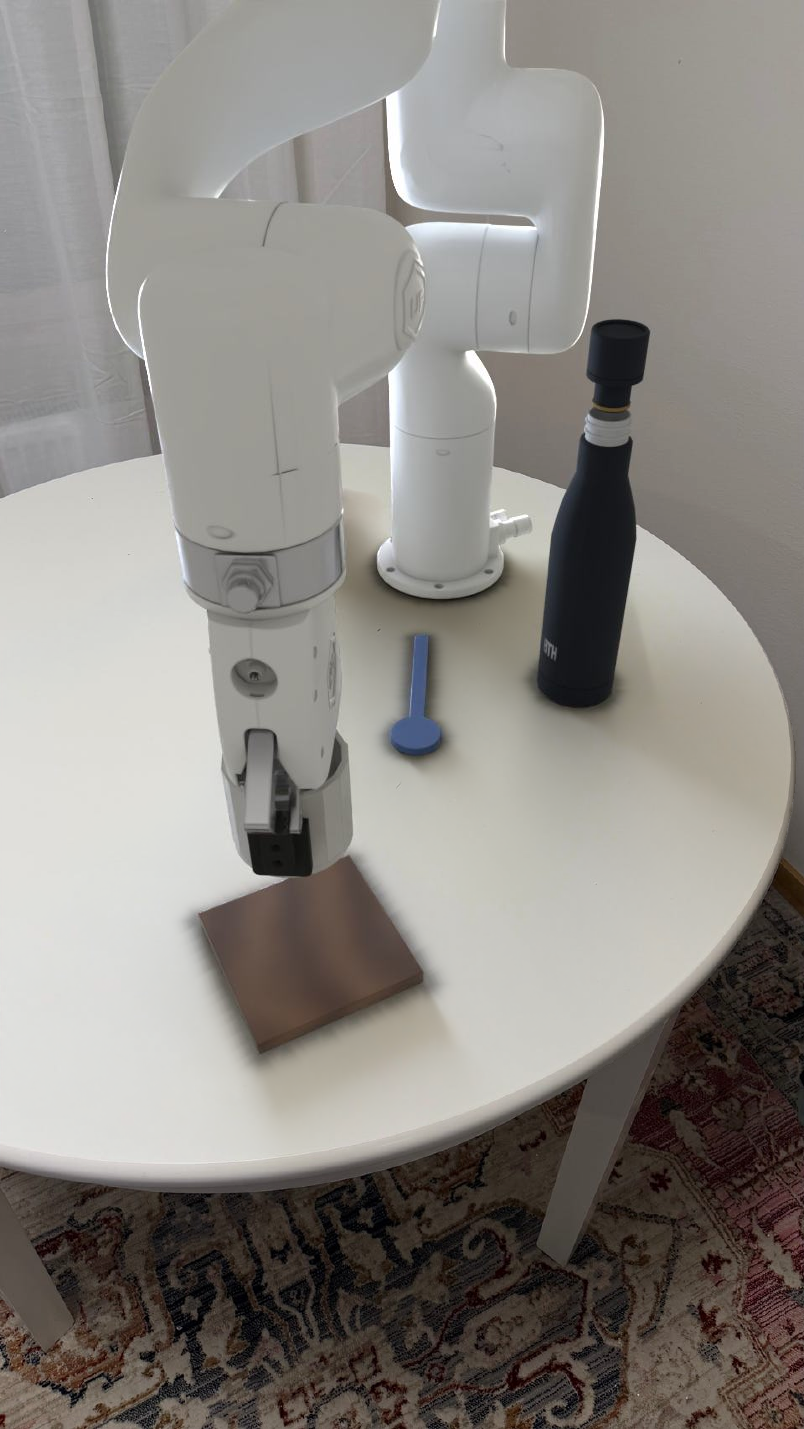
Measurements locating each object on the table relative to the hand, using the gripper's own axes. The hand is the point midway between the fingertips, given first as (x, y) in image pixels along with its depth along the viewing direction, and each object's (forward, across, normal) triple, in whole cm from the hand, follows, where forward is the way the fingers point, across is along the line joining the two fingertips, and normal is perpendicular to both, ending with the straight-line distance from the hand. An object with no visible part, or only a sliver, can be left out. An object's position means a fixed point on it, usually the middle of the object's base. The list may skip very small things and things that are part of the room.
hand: (292, 819), depth 57 cm
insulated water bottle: (+12, +28, -19) cm, 37 cm away
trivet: (+12, 0, 0) cm, 12 cm away
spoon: (+12, +27, -6) cm, 30 cm away
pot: (+1, 0, 0) cm, 1 cm away
